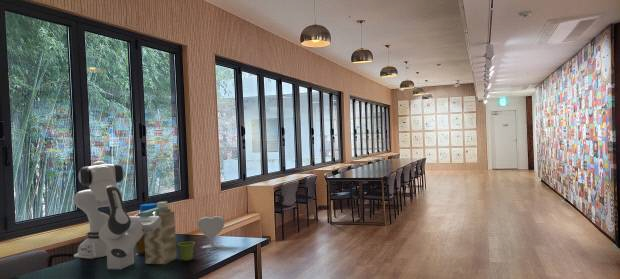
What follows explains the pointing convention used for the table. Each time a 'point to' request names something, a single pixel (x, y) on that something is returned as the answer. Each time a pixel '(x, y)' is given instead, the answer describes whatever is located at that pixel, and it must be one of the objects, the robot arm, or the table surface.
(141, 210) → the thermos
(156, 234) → the zigzag patterned block
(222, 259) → the table surface
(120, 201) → the robot arm
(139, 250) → the condiment
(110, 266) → the white rectangular block
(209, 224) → the heart sculpture
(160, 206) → the teal green bar
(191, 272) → the table surface
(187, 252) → the plant pot
